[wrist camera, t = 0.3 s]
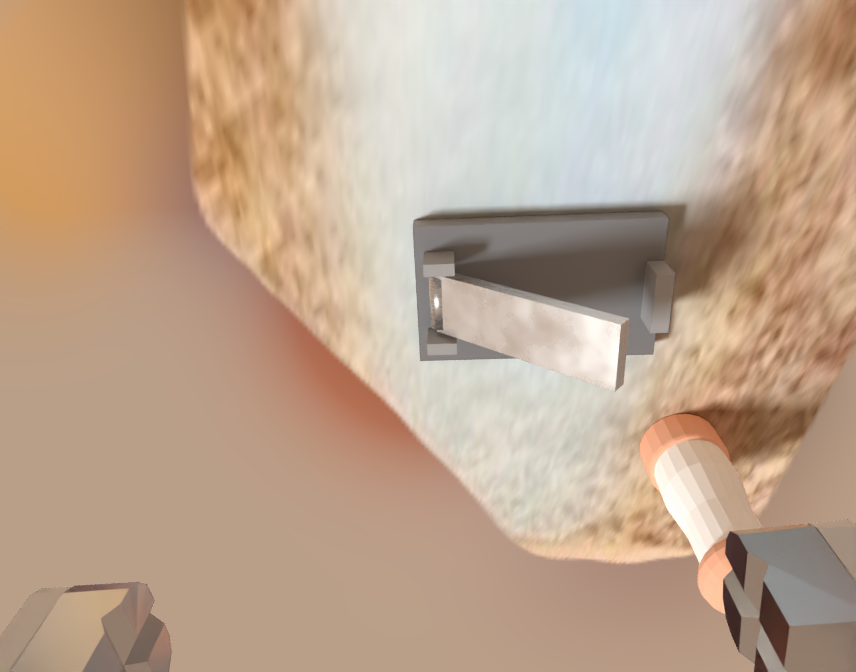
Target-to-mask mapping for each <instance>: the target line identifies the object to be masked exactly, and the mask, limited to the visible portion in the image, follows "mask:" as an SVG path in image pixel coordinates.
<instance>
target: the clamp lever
mask: <svg viewBox="0 0 856 672" xmlns="http://www.w3.org/2000/svg"><path fill="white" fill-rule="evenodd" d="M429 297H430V318H431V328H433V329H435V330H437V332H440V333H443V334H446V335H449V336H452V337H455V338H458V339H461V340H464V341H467V342H470V343H473V344H476V345H479V346H482V347H485V348H488V349H491V350H494V351H497V352H500V353H503V354H506V355H509V356H512V357H515V358H518V359H521V360H524V361H527V362H530V363H533V364H535V365H538V366H541V367H544V368H547V369H550V370H553V371H556V372H559V373H562V374H565V375H568V376H571V377H574V378H577V379H580V380H583V381H586V382H589V383H592V384H595V385H598V386H601V387H604V388H607V389H610V390H613V391H616V390H617V389H618V388H620V387H621V386H622V385H623V383H624V372H625V362H626V351H627V341H628V330H629V320H630V319H629V318H625V317H622V316H618V315H614V314H610V313H606V312H603V311H599V310H595V309H591V308H587V307H583V306H580V305H576V304H572V303H568V302H564V301H560V300H557V299H553V298H549V297H545V296H541V295H537V294H534V293H530V292H526V291H522V290H518V289H514V288H511V287H507V286H503V285H499V284H495V283H491V282H488V281H484V280H480V279H476V278H472V277H468V276H465V275H461V274H457V273H455V276H445V277H429Z"/></svg>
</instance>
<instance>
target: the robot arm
mask: <svg viewBox="0 0 856 672" xmlns="http://www.w3.org/2000/svg"><path fill="white" fill-rule="evenodd" d="M725 555H726V557H727V559H728V561H729V563H730V565H731V567H732V570H731V571H730V572H729V573H728V574H727V575H726V576H725V577H724V579H723V603H724V609H725V615H726V620H727V623H728V626H729V629H730V632H731V635H732V637H733V640H734V642H735V644H736V647H737V649H738V651H739V653H741V654H742V655H743V656H745V657H746V658H748V659H749V660H750V661H752V662H753V663H754V664H755V666H754V672H856V524H855V523H853V522H851V521H850V520H838V521H828V522H818V523H808V524H807V525H805V524H800V525H790V526H779V527H769V528H758V529H747V530H736V531H730V532H729V534H728V536H727V538H726V547H725ZM154 602H155V600H154V597H153V596H152V594H151V592H150V589H149V587H148V585H147V584H144V583H140V582H129V583H112V584H95V585H78V586H73V587H58V588H41V589H40V590H38V591H36V592H35V593H33V594H31V595H30V596H29V597H28V599H27V600H26V601H25V603H24V604H23V606H22V607H21V608H20V610H19V611H18V612H17V614H16V615H15V616H14V618H13V619H12V621H11V622H10V623H9V625H8V626H7V627H6V629H5V630H4V632H3V633H2V634H1V636H0V672H169V669H170V661H171V654H172V649H171V643H170V635H169V633H168V630H167V628H166V625H165V624H164V623H163V622H162V621H161V620H159V619H158V618H156V617H155V616H154V615H152V614H151V613H150V611H151V609H152V606H153V604H154Z"/></svg>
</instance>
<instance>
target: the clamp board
mask: <svg viewBox="0 0 856 672" xmlns="http://www.w3.org/2000/svg"><path fill="white" fill-rule="evenodd" d="M668 221H669V218H668V217H667V216H666V215H665V214H664V213H663V212H662V211H647V212H620V213H593V214H565V215H538V216H511V217H484V218H457V219H430V220H414V223H413V240H414V257H415V275H416V293H417V310H418V328H419V346H420V361H436V360H472V359H507V358H515V357H512V356H509V355H506V354H503V353H500V352H497V351H494V350H491V349H488V348H485V347H482V346H479V345H476V344H473V343H470V342H467V341H464V340H461V339H458V338H455V337H452V336H449V335H446V334H443V333H440V332H437V330H435V329H433V328H431V318H430V297H429V277H445V276H455V273H457V274H461V275H465V276H468V277H472V278H476V279H480V280H484V281H488V282H491V283H495V284H499V285H503V286H507V287H511V288H514V289H518V290H522V291H526V292H530V293H534V294H537V295H541V296H545V297H549V298H553V299H557V300H560V301H564V302H568V303H572V304H576V305H580V306H583V307H587V308H591V309H595V310H599V311H603V312H606V313H610V314H614V315H618V316H622V317H625V318H629V319H630V320H629V330H628V341H627V351H626V355H650V354H653V352H654V343H655V334H656V333H668V330H669V322H670V314H671V306H672V298H673V290H674V282H675V273H674V271H673V270H672V269H671V268H670V267H669V266H668V265H667V263H666V262H665V261H664V256H665V248H666V239H667V230H668Z"/></svg>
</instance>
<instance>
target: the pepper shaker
mask: <svg viewBox="0 0 856 672" xmlns="http://www.w3.org/2000/svg"><path fill="white" fill-rule="evenodd" d="M640 456H641V458H642V461H643V464H644V466H645V468H646V471H647V473H648V475H649V477H650V480H651V482H652V484H653V485H654V486H655V487H656V488H657V489H658V491H660V492H661V495H662V497H663V500H664V502H665V505H666V507H667V510H668V511H669V512H670V514H671V515H672V516H673V518H674V519H675V521H676V522H677V523H678V525H679V526H680V528H681V529H682V530H683V532H684V533H685V535H686V536H687V537H688V540H689V542H690V544H691V546H692V548H693V550H694V552H695V555H696V557H697V559H698V561H699V563H700V564H699V570H698V586H699V589H700V592H701V594H702V596H703V597H704V598H705V599H706V600H707V601H708V602H709V603H710V604H711V605H712V606H713V608H715V609H716V610H718V611H720V612H722V613H724V614H725V609H724V603H723V579H724V577H725V576H726V575H727V574H728V573H729V572H730V571H731V570H732V567H731V565H730V563H729V561H728V559H727V557H726V555H725V547H726V538H727V536H728V534H729V532H730V531H736V530H747V529H758V528H763V527H762V526H761V524H760V522H759V520H758V519H757V517H756V515H755V514H754V512H753V510H752V508H751V505H750V502H749V500H748V497H747V494H746V491H745V488H744V486H743V483H742V480H741V477H740V476H739V474H738V473H737V471H736V470H735V468H734V467H733V465H732V464H731V462H730V456H729V453H728V449H727V448H726V446H725V445H724V443H723V442H722V440H721V438H720V437H719V435H718V434H717V432H716V431H715V429H714V428H713V427H712V426H711V424H710V423H709V422H708V421H706V420H705V419H703V418H701V417H699V416H696V415H691V414H675V415H671V416H668V417H665V418H662V419H661V420H659V421H658V422H656V423H655V424H653V425H652V426H651V427H650V428H649V429H648V430H647V431H646V433H645V434H644V436H643V438H642V440H641V443H640Z"/></svg>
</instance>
